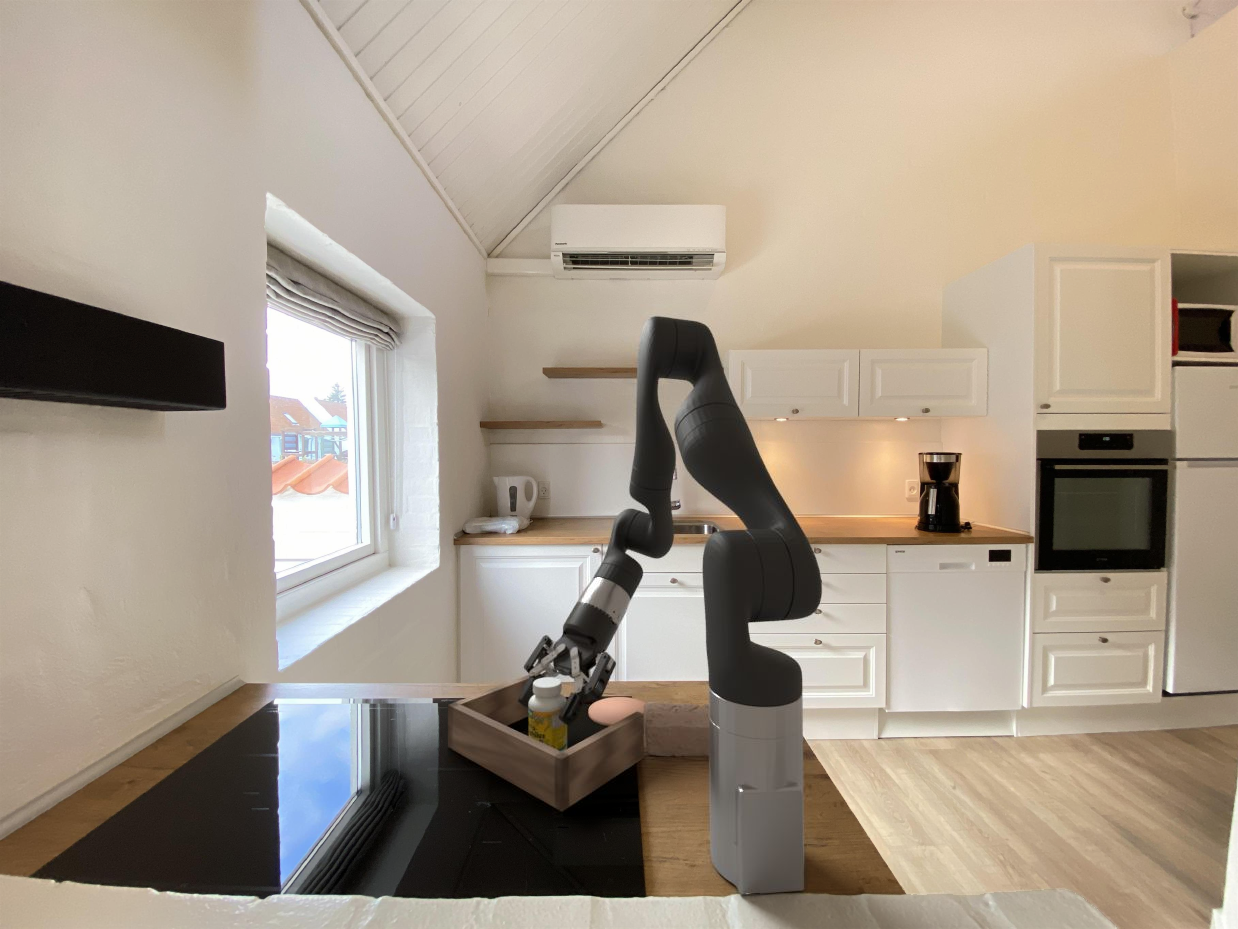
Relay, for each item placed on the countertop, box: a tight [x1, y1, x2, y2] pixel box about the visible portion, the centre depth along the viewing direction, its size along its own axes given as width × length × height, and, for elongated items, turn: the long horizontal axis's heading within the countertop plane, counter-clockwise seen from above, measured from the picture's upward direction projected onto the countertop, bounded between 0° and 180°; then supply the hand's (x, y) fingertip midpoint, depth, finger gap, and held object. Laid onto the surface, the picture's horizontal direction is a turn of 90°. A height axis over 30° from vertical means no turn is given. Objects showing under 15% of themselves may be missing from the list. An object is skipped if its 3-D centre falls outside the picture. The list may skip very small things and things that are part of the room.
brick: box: [643, 701, 709, 757], centre depth 80 cm, size 17×8×5 cm, turn 92°
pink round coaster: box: [588, 696, 645, 727], centre depth 90 cm, size 10×10×1 cm
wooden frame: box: [447, 674, 645, 812], centre depth 77 cm, size 16×23×6 cm, turn 50°
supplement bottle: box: [528, 677, 568, 752], centre depth 78 cm, size 5×5×10 cm
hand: (542, 713), depth 77 cm, fingers open, 8 cm apart
